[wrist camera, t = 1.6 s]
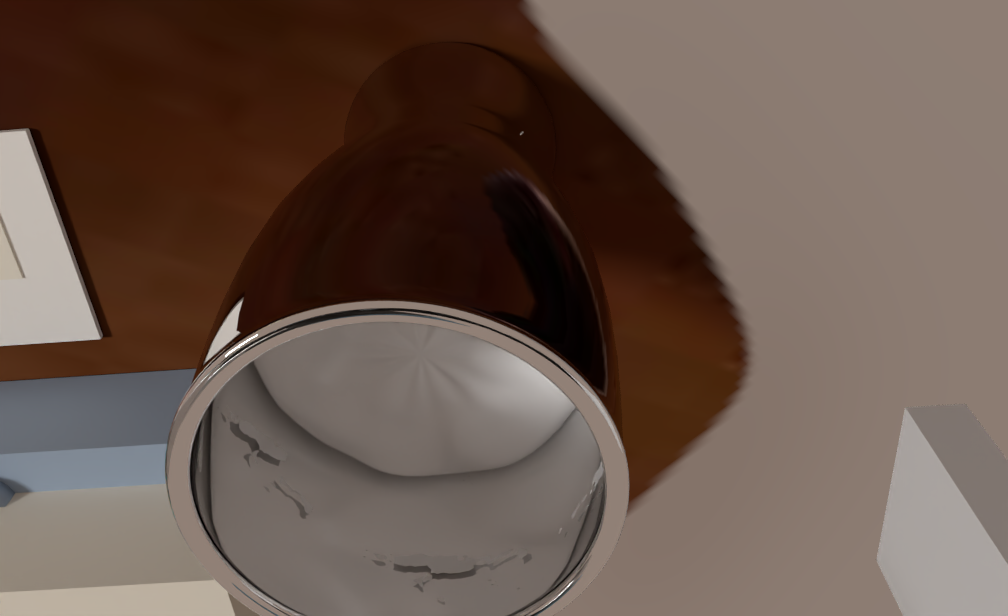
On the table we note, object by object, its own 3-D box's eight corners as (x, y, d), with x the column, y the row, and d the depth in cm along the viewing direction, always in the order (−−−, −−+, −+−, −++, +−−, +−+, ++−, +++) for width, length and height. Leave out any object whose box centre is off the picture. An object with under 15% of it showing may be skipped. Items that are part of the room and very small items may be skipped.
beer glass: (466, 295, 28) (436, 723, 15) (283, 158, 26) (56, 521, 12) (620, 135, 25) (749, 484, 12) (432, -33, 23) (342, 175, 10)
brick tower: (83, 627, 35) (-19, 827, 28) (-29, 383, 29) (-193, 561, 22) (377, 610, 35) (346, 810, 28) (323, 360, 29) (267, 534, 22)
